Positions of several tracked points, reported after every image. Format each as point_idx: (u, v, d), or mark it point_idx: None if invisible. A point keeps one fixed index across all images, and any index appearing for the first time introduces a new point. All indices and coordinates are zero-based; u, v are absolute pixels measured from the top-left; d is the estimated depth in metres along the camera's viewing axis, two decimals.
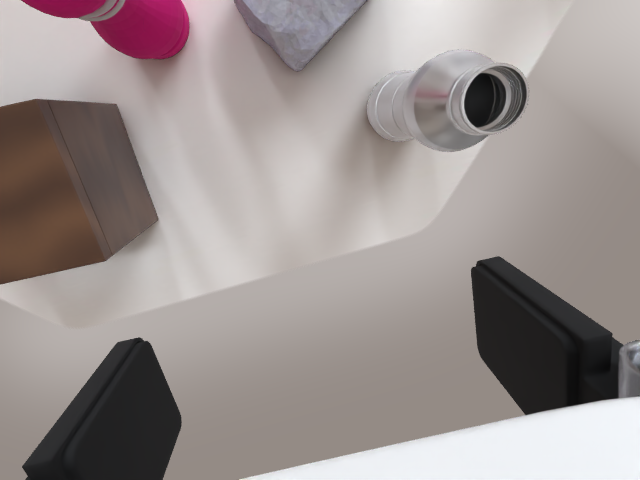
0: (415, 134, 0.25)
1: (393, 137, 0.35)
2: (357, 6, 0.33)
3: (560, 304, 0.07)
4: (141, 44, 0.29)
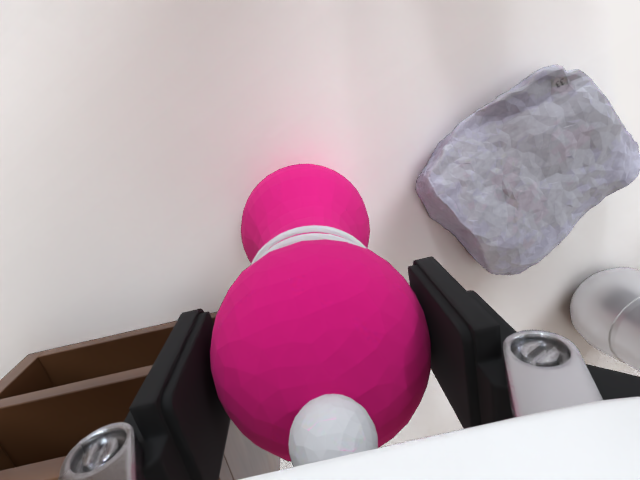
0: None
1: None
2: (597, 203, 0.24)
3: (467, 299, 0.08)
4: None
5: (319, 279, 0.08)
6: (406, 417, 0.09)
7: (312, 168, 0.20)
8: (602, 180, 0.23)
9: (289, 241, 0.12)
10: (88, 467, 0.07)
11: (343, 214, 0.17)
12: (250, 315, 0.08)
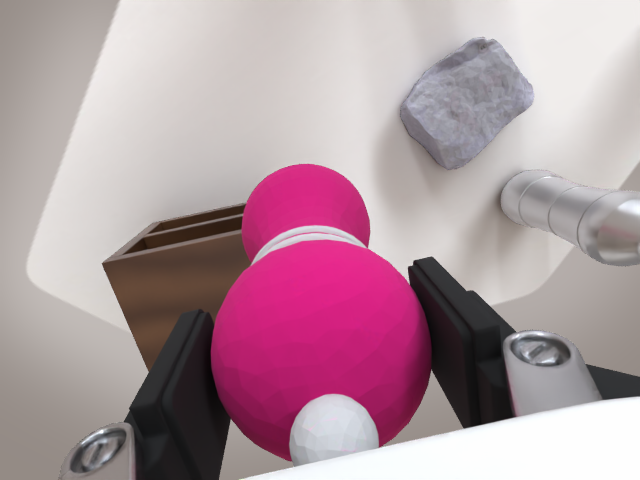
0: (591, 253, 0.31)
1: (529, 226, 0.42)
2: (508, 121, 0.39)
3: (467, 299, 0.08)
4: None
5: (320, 279, 0.08)
6: (407, 417, 0.09)
7: (312, 168, 0.20)
8: (510, 106, 0.38)
9: (290, 241, 0.12)
10: (88, 467, 0.07)
11: (344, 214, 0.17)
12: (251, 314, 0.08)
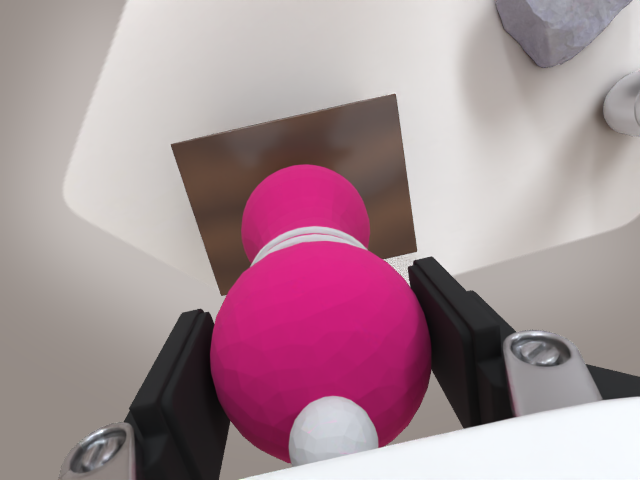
0: None
1: None
2: (627, 4, 0.34)
3: (467, 299, 0.08)
4: None
5: (319, 280, 0.08)
6: (407, 419, 0.09)
7: (312, 169, 0.20)
8: None
9: (289, 242, 0.12)
10: (88, 467, 0.07)
11: (344, 214, 0.17)
12: (251, 316, 0.08)
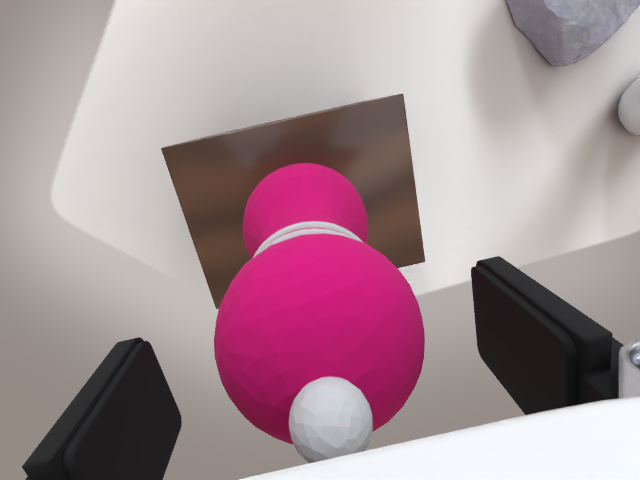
0: None
1: None
2: None
3: (560, 304, 0.07)
4: None
5: (317, 269, 0.09)
6: (400, 401, 0.10)
7: (312, 167, 0.20)
8: None
9: (289, 236, 0.13)
10: None
11: (342, 211, 0.18)
12: (253, 303, 0.09)
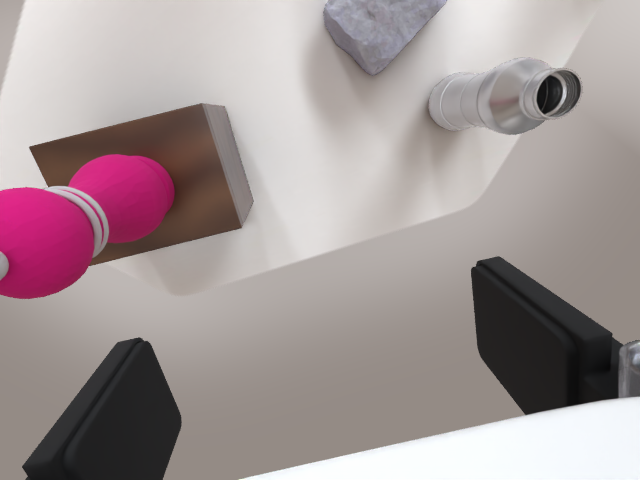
0: (488, 122, 0.33)
1: (453, 127, 0.43)
2: (425, 22, 0.41)
3: (560, 304, 0.07)
4: (126, 240, 0.30)
5: None
6: (48, 268, 0.19)
7: (113, 156, 0.29)
8: (425, 6, 0.40)
9: None
10: None
11: (117, 184, 0.27)
12: None
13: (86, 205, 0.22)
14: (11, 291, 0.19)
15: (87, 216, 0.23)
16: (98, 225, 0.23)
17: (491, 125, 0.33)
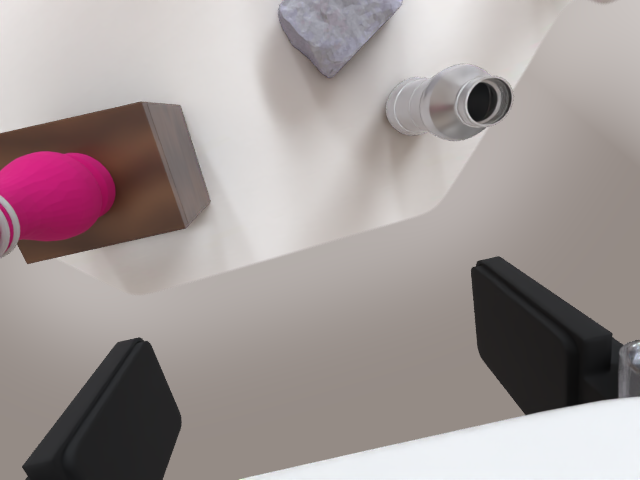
0: (429, 127, 0.33)
1: (408, 131, 0.43)
2: (380, 26, 0.41)
3: (560, 304, 0.07)
4: (54, 238, 0.30)
5: None
6: None
7: (41, 153, 0.29)
8: (378, 9, 0.40)
9: None
10: None
11: (39, 182, 0.27)
12: None
13: None
14: None
15: None
16: (4, 223, 0.22)
17: (432, 131, 0.33)
